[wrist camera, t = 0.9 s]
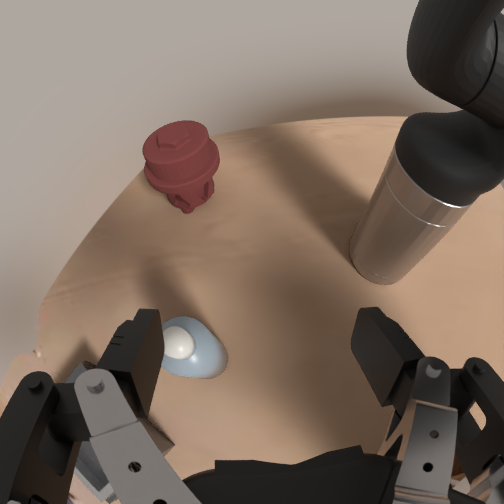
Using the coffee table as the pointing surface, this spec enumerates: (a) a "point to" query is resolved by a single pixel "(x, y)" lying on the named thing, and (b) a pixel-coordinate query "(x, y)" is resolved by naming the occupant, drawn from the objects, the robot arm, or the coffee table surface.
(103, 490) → the square grey open box
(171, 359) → the pale blue squeeze bottle
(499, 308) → the coffee table surface
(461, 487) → the white shelf unit
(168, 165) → the mechanical component
